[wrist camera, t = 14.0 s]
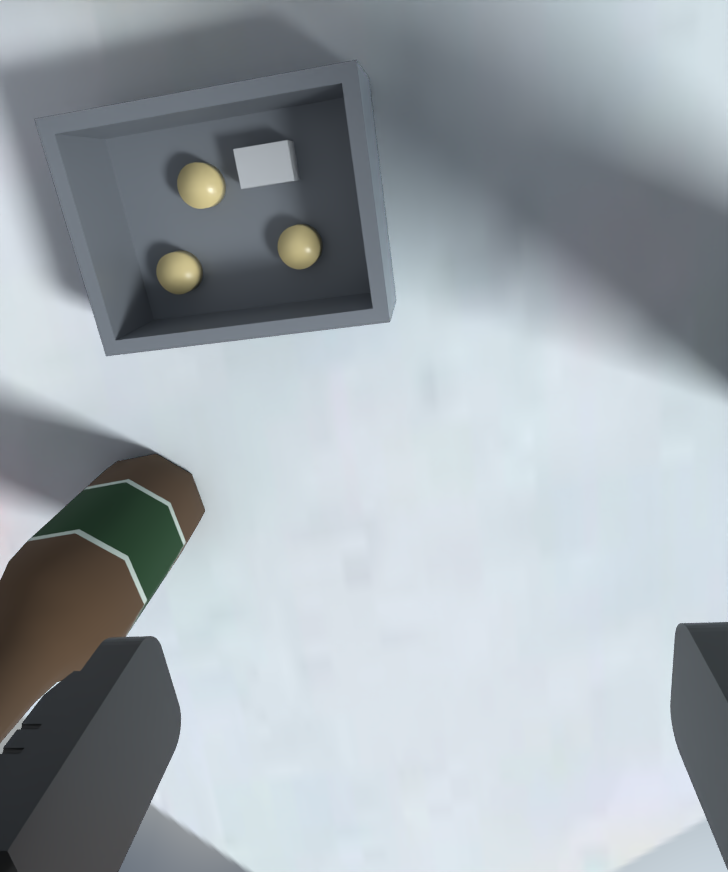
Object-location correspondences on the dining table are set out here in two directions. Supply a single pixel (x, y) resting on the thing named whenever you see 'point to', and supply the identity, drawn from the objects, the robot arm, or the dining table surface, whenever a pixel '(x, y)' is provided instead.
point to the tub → (227, 210)
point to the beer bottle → (89, 575)
